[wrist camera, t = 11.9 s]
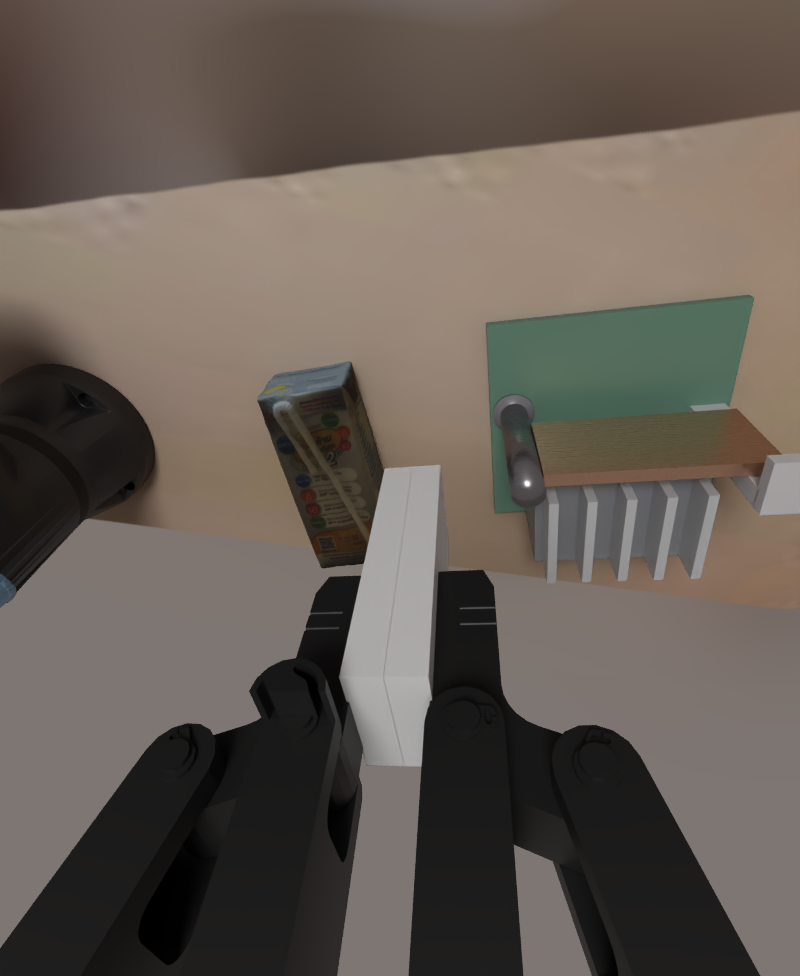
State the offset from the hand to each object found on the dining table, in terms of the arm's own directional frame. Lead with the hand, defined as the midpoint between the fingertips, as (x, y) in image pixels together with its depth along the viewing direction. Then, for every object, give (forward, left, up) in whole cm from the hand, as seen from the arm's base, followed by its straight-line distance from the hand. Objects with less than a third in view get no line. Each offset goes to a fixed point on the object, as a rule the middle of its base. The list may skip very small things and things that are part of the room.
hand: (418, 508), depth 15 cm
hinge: (+13, -13, -31) cm, 36 cm away
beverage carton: (-12, -17, -33) cm, 39 cm away
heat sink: (+13, -15, -32) cm, 38 cm away
